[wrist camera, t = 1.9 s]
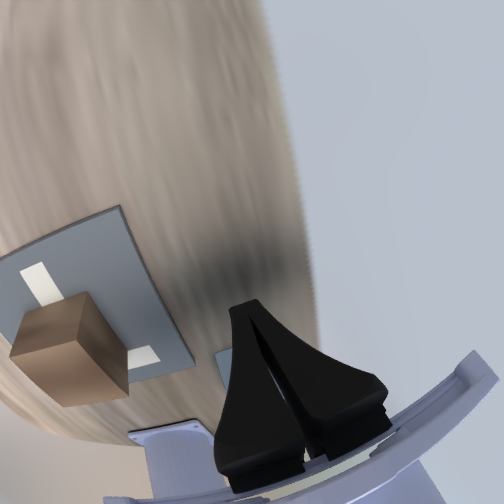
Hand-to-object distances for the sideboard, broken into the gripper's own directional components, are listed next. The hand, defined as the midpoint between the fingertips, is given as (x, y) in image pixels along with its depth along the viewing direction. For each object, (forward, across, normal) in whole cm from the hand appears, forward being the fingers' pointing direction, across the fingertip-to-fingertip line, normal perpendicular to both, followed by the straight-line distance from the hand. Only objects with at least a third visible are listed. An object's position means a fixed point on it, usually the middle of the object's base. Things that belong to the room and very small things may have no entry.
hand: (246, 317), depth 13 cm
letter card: (+3, +10, 0) cm, 10 cm away
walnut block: (+3, +10, 0) cm, 10 cm away
